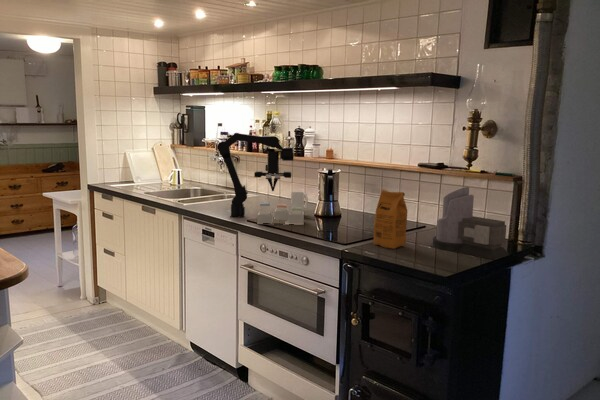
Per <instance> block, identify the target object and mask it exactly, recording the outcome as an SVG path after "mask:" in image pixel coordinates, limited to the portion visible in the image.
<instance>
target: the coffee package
mask: <svg viewBox="0 0 600 400" xmlns="http://www.w3.org/2000/svg"><path fill="white" fill-rule="evenodd" d="M404 197H405V192H403V191H402V192H401V191H389V190H386V189H381V192H380V195H379V198H378V202H377V206H376V209H375V214H374V215H375V216H374V223H373V245H374V246H380V247H382V248H386V249H397V248H399V247H403V246H405V245H406V244H407V243H406V241H407V224H408V209H407V208H408V207H407V205H406V202H405V198H404Z"/></svg>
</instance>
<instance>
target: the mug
mask: <svg viewBox="0 0 600 400" xmlns="http://www.w3.org/2000/svg"><path fill="white" fill-rule="evenodd" d="M290 197H291V198H290V201H291V202H290V203H291V204H290V205H291V209H290V212H292V207H301V212H304V213H305V211H304V210H306V209H307V206H308V204H309V203H308V201H309V199H308V196H307V193H305V192H304V191H291V192H290ZM304 202H305V203H304Z"/></svg>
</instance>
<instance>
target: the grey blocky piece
mask: <svg viewBox="0 0 600 400" xmlns="http://www.w3.org/2000/svg"><path fill="white" fill-rule="evenodd" d="M474 197H475V196H474V195H473V194H470V187H469V186H465V187H461V188H458V189H456V190H454V191H451V192H449V193H448V194H446V195H444V197H443V200H442V201H443V202H442V215H441V216H442V218H438V219H437V220H436V222H437V223H436V236H434V237H432V242H430V243H429V244H428V246H429V247H432V248H435V249H438V250H440V251H441V250H442V251H447V252H456V253H462V254H465V255H469V256H470V255H471V256H475V257H481V258H485V259H490V260H494V261H495V260H499V259H502V258H505V257H507V256H510V255H511V254H510V252H508V251H507V250H506V249H505V248H504V246H503V244H504V243H506V236H507V225H506V221H504V220H498V219H493V218H486V217H479V216H474V215H473V214H474V213H473V212H474V199H475V198H474Z"/></svg>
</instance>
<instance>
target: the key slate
mask: <svg viewBox="0 0 600 400" xmlns="http://www.w3.org/2000/svg"><path fill="white" fill-rule="evenodd" d="M259 210H260V211H259V212H260V214H266V215H270V212H271V202H269V201H268V202H267V201H266V202H265V201H263V202H262V201H260V204H259Z"/></svg>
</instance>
